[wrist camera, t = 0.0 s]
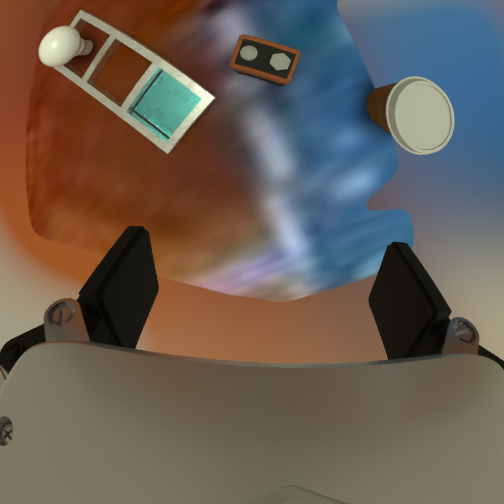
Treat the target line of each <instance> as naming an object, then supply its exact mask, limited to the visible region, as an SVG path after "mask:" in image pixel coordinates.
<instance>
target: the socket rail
mask: <svg viewBox="0 0 504 504" xmlns="http://www.w3.org/2000/svg"><path fill="white" fill-rule="evenodd" d="M87 22H88V23H90V24H92V25H94V26H95V27H97V28H99V29H101V30H102V31H104V32H106V33H107V34H109V35H110V37H109V38H108V39H107V41H106V42H105V44H104V45H103V46H102V48H101V49H100V51H99V52H98V54H97V55H96V57H95V58H94V60H93V61H92V63H91V65H90V66H89V68H88V69H87V71H86V73H85V74H84V73H82V72H81V71H79V70H78V69H77V68H75V67H74V66H72V65H71V64H69V63H68V62H67V63H66V64H64V65H61V66H57V67H54V68H55V69H56V70H58V71H59V72H61V73H62V74H63V75H65V76H66V77H67V78H69V79H70V80H72V81H73V82H74V83H76V84H77V85H78V86H80V87H81V88H82V89H84V90H85V91H86V92H88V93H89V94H90V95H92V96H93V97H94V98H96V99H97V100H98V101H100V102H101V103H102V104H104V105H105V106H106V107H108V108H109V109H110V110H112V111H113V112H114V113H116V114H117V115H118V116H119V117H121V118H122V119H123V120H125V121H126V122H127V123H129V124H130V125H131V126H132V127H134V128H135V129H136V130H138V131H139V132H140V133H141V134H143V135H144V136H145V137H147V138H148V139H149V140H150V141H152V142H153V143H154V144H156V145H157V146H158V147H159V148H161V149H162V150H163V151H164V152H166V153H167V154H169V153H170V152H171V151H173V150H174V148H175V147H176V146H177V144H178V143H179V142H180V141H181V139H182V138H183V137H184V136H185V134H186V133H187V132H188V131H189V130H190V128H191V127H192V126H193V125H194V124H195V122H196V121H197V120H198V119H199V118H200V117H201V115H202V114H203V113H204V112H205V111H206V110H207V109H208V107H209V106H210V105H211V104H212V103H213V102H214V101H215V100H216V99H217V96H215V95H214V94H213V93H212V92H210V91H209V90H208V89H207V88H205V87H204V86H203V85H201V84H200V83H199V82H197V81H196V80H195V79H193V78H192V77H191V76H189V75H188V74H187V73H185V72H184V71H183V70H181V69H180V68H178V67H177V66H176V65H174V64H173V63H171V62H170V61H168V60H167V59H166V58H164V57H163V56H161V55H160V54H158V53H157V52H155V51H154V50H152V49H151V48H149V47H148V46H146V45H145V44H143V43H142V42H140V41H138V40H137V39H135V38H134V37H132V36H130V35H129V34H127V33H125V32H124V31H122V30H120V29H119V28H117V27H115V26H114V25H112V24H110V23H108V22H107V21H105V20H103V19H101V18H99V17H97V16H96V15H94V14H92V13H90V12H87V11H83V10H80V12H79V13H78V14H77V16H76V17H75V19H74V20H73V22H72V23H71V25H70V26H71V27H73V28H75V29H76V30H77V31H78V32H79V33H80V32H81V30H82V29H83V28H84V26H85V25H86V23H87ZM121 42H122V43H124V44H125V45H127V46H128V47H130V48H132V49H133V50H135V51H136V52H138V53H139V54H141V55H142V56H144V57H145V58H147V59H148V60H150V61H151V62H152V64H151V65H150V67H149V68H148V69H147V71H146V72H145V73H144V75H143V76H142V77H141V79H140V80H139V81H138V83H137V84H136V86H135V87H134V88H133V90H132V91H131V93H130V94H129V96H128V97H127V98H126V100H125V101H124V103H123V102H122V101H121V100H119V99H118V98H117V97H115V96H114V95H113V94H111V93H110V92H109V91H107V90H106V89H105V88H103V87H102V86H100V85H99V84H98V83H96V82H95V81H96V79H97V77H98V76H99V74H100V73H101V71H102V70H103V68H104V67H105V65H106V64H107V62H108V61H109V59H110V58H111V56H112V55H113V53H114V52H115V51H116V49H117V48H118V47H119V45H120V44H121ZM163 70H164V71H163ZM162 71H163V72H162ZM161 72H162V73H161ZM160 73H161V74H160ZM159 75H160V76H159ZM158 76H159V77H158ZM157 77H158V78H157ZM156 78H157V79H156ZM155 80H156V81H155ZM154 81H155V82H154ZM153 82H154V83H153ZM152 84H153V85H152ZM151 85H152V86H151ZM150 86H151V87H150ZM148 89H149V90H148ZM147 90H148V91H147ZM146 92H147V93H146ZM145 93H146V94H145ZM144 94H145V95H144ZM143 96H144V97H143ZM142 97H143V98H142ZM141 98H142V99H141ZM140 100H141V101H140ZM139 101H140V102H139ZM138 103H139V104H138ZM137 104H138V105H137ZM136 106H137V107H136ZM135 107H136V108H135ZM134 108H135V109H134ZM134 110H135V111H136V112H135V111H134ZM137 112H138V113H139V114H140V115H139V114H138V113H137ZM141 115H142V116H143V117H144V118H143V117H142V116H141ZM145 118H146V119H147V120H148V121H147V120H146V119H145ZM149 121H150V122H151V123H152V124H153V125H152V124H151V123H150V122H149ZM154 125H155V126H156V127H157V128H156V127H155V126H154ZM158 128H159V129H160V130H161V131H162V132H161V131H160V130H159V129H158ZM163 132H164V133H165V134H166V135H165V134H164V133H163ZM168 136H169V137H170V138H169V137H168Z"/></svg>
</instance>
